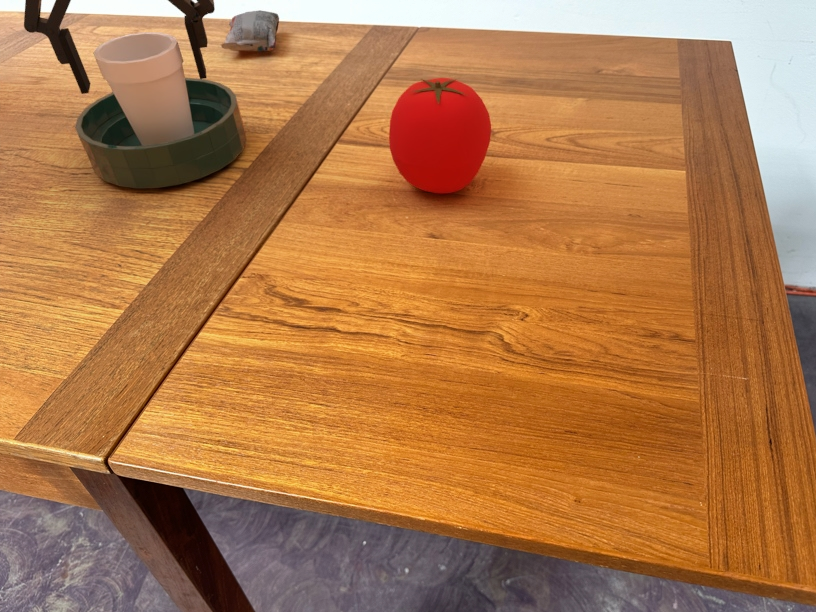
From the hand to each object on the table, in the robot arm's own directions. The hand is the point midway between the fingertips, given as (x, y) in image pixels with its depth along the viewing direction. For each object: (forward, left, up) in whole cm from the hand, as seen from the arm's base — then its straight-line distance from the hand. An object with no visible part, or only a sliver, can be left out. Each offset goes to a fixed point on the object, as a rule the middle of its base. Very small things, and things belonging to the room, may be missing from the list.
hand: (145, 81), depth 81 cm
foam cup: (0, 0, -9) cm, 9 cm away
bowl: (0, 0, -10) cm, 10 cm away
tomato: (+32, -18, -10) cm, 38 cm away
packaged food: (+13, +34, -10) cm, 38 cm away
